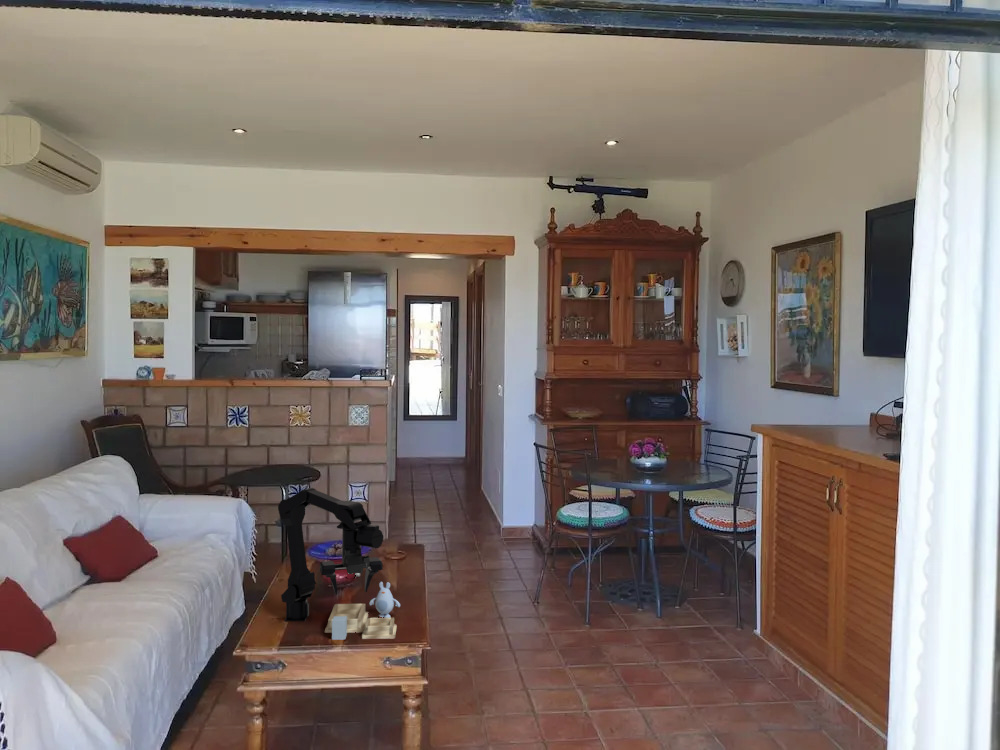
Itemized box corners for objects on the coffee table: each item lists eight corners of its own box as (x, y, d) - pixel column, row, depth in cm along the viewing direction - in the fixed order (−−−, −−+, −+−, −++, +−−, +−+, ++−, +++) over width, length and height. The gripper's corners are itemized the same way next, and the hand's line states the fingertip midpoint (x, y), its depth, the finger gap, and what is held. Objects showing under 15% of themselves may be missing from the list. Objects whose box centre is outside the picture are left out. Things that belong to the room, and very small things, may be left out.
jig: (322, 639, 231) (322, 626, 231) (332, 615, 252) (332, 603, 252) (394, 638, 232) (394, 625, 232) (398, 614, 253) (398, 602, 253)
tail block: (331, 640, 230) (332, 621, 230) (333, 635, 234) (333, 616, 234) (345, 640, 231) (345, 620, 231) (346, 635, 235) (346, 616, 235)
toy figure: (366, 620, 248) (366, 583, 247) (372, 613, 254) (372, 578, 253) (397, 622, 246) (397, 585, 246) (402, 615, 252) (402, 580, 252)
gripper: (324, 552, 225) (324, 604, 226) (386, 547, 232) (386, 598, 232) (319, 543, 235) (319, 593, 236) (379, 539, 242) (378, 587, 243)
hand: (351, 593), depth 236 cm, fingers open, 9 cm apart
